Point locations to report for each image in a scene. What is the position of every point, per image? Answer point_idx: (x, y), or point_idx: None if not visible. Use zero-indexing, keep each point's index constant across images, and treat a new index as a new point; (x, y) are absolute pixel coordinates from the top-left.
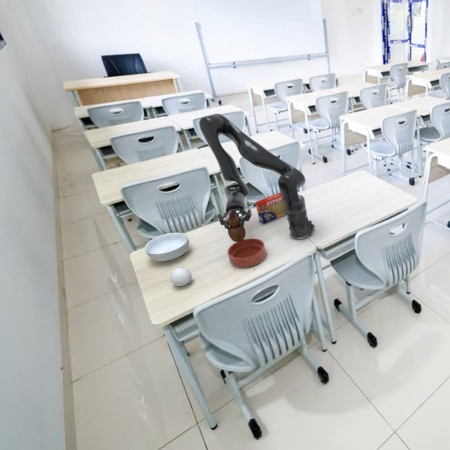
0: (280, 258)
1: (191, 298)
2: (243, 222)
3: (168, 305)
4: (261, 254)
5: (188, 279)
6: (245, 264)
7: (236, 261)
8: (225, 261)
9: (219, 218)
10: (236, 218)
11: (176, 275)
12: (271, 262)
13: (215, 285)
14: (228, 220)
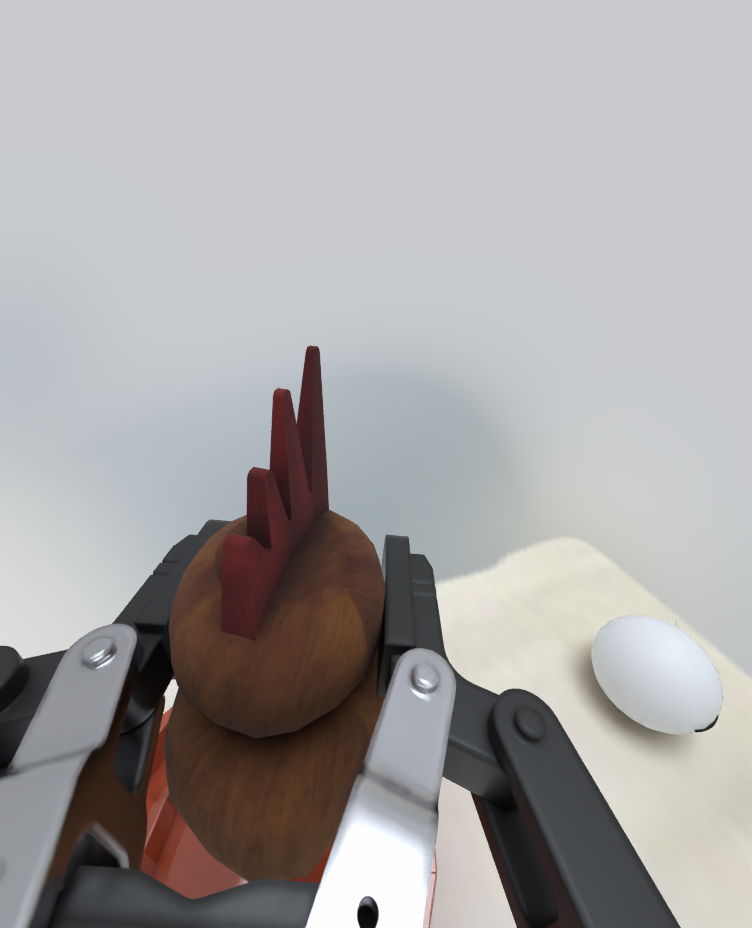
0: None
1: (529, 583)
2: (176, 552)
3: (595, 580)
4: None
5: (594, 640)
6: None
7: None
8: (460, 894)
9: (612, 838)
10: (236, 520)
11: (654, 618)
12: (169, 699)
13: (460, 620)
14: (364, 533)
